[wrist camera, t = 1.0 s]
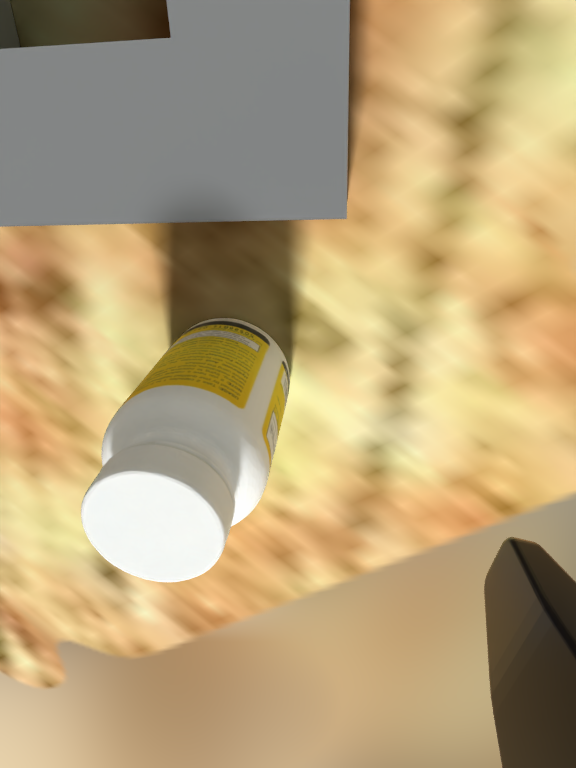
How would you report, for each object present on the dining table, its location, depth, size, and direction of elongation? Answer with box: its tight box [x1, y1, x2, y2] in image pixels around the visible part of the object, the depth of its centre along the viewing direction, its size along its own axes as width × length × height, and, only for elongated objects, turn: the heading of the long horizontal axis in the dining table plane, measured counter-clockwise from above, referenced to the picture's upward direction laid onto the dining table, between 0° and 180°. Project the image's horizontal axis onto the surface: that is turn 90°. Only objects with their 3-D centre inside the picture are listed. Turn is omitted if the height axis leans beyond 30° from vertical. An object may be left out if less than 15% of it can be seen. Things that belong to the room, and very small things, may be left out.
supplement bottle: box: [81, 318, 290, 582], centre depth 18 cm, size 5×5×10 cm
